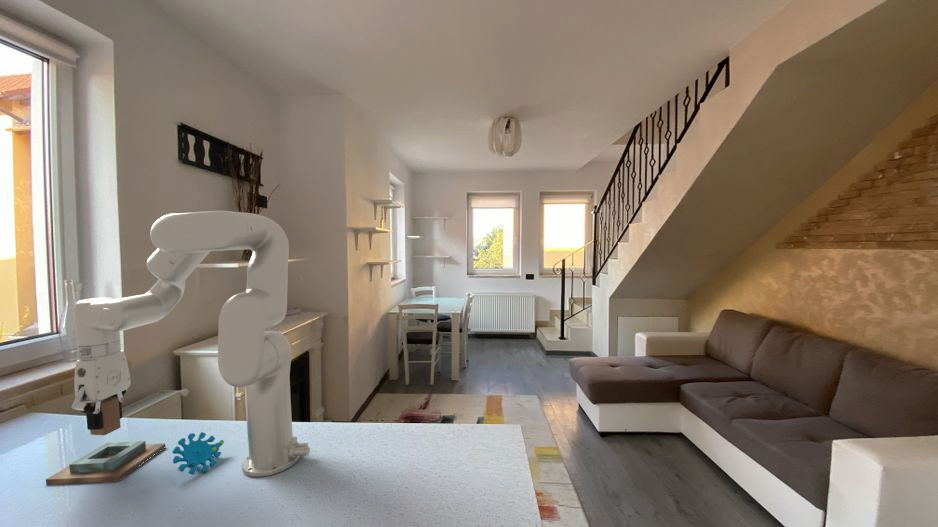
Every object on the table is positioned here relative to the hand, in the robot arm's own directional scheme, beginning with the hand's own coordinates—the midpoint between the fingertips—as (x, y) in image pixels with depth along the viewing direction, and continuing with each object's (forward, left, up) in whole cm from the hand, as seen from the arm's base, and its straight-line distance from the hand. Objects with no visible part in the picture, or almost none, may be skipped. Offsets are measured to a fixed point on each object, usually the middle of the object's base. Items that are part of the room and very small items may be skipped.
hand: (105, 423), depth 93 cm
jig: (0, 0, -11) cm, 11 cm away
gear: (-24, +3, -11) cm, 26 cm away
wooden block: (0, 0, -2) cm, 2 cm away
